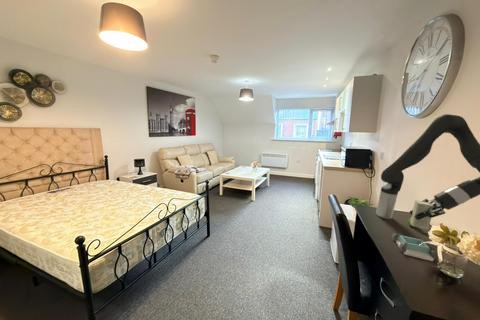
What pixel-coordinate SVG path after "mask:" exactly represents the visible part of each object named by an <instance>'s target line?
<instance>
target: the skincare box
mask: <svg viewBox="0 0 480 320" xmlns="http://www.w3.org/2000/svg"><path fill="white" fill-rule="evenodd" d="M422 201H423V200H416V199H415V200H414V204H413V207H412V210H413V212H412V216H411V215H410V218H411V220H410V223H411V225H412V226H411V225H410V226H411V227H413V226H415V227H414V228H420V229H424V230H429V228H430V225H431V221H432V218H430V217H424V218H422V219H420V220H417V219H416V218H415V217H414V216H415V215H417V214H419V213H421V212H422V213H423V212H424V211H425V210H427V208H429V207H432V208H433V207H434V206H433V205H431V203H428V202H422ZM432 208H431V209H430V210H431V211H432V210H433V209H432ZM428 212H429V211H428Z"/></svg>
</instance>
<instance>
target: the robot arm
mask: <svg viewBox="0 0 480 320" xmlns="http://www.w3.org/2000/svg"><path fill="white" fill-rule="evenodd" d="M443 134H450V135H452V137H454V138H455V139H456V141H457V142H458V145H459V150H460V154H461V155H462V156H463V158H464V160H466V162H467V163H468V164H469V166H471V167H472V168H474V169H476V170H477V171H478V172H479V173H480V142H479V141H478V140H477V138H476V137H475V135H474V133H473V132H472V130H471V128H470V127H469V124H468V123H467V121H466V119H465V118H464V117H463V116H460V115H456V114H450V113H446V114H441V115H439V116H438V117H436V118H435V119H434V120H433V121H432V122H431V123H430V124H429V126H428V127H427V128H426V129H425V130H424V131H423V133H422V134H421V135H420V136H419V137H418V138H417V139H416V140H415V141H414V142H413V143H412V144H411V145H410V146H408V148H407V149H406V150H405V151H404V152H403V153H402V154H401V155H400V156H398V158H397V159H396V160H395V161H393V163H392V164H390V165H389V166H387V167H386V168H385V169H383V171H382V173H381V174H380V179H381V181H382V182H383V183H387V184H385V185H383V186H381V187H380V188H381V189H380V193H379V197H378V200H377V201H378V202H377V207H376V209H375V210H376V211H375V215H376V216H377V217H380V218H382V219H386V220H391V219H392V218H393V213H394V210H395V207H396V202H397V198H398V194H399V192H401V189H402V186H403V182H404V177H405V176H404V172H403V171H404V170H406V169H408V168H411V167H413V166H415V165H417V164H418V163H420V162H422V161H423V160H424V159H425V158H426V157H427V156H428V155H429V154H430V152H431V150H432V149H433V148H432V147H433V144H434V143H435V141H436V140H437V139H438V138H439V137H441V136H442V135H443ZM478 196H480V176H478V177H476V178H474V179H472V180H470V179H469V180H465V181H463V182H461V183H459V184H457V185H454V186H451V187H449V188H447V189H444V190H443V191H441V192H439V193H437V194H434V196H433V198H434V199H431V200H429V199H428V198H425V199H423V200H421V201H422V202H428V203H431V205H433V206H434V207H433V208H432V207H429V208H427V210H425V211H424V212H423V213H422V212H421V213H419V214H417V215H415V216H414V217H415V218H416V219H417V220H420V219H422V218H424V217H430V218H431V219H432V218H435V217H439V216H442V215H445V214H446V211H445V210H453V209H454V208H456V207H457V206H460V205H462V204H465V203H466V202H468V201H470V200H472V199H474V198H476V197H478ZM431 208H432V209H433V210H432V211H431V210H430V209H431ZM428 211H429V212H428ZM412 212H413V209H412V210H410V211H409V214H410V216H411V215H412Z"/></svg>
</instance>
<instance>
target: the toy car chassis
mask: <svg viewBox="0 0 480 320" xmlns="http://www.w3.org/2000/svg"><path fill="white" fill-rule="evenodd" d="M391 240H392V241H393V242H395V243H396V245H397V247H398V249H399V251H400V253H403V254H404V255H405V256H410V257H414V258H419V259H422V260H425V261H431V262H434V261H436V260H437V259H438V257H437V256H438V255H437V252H436V251H435V250H431V249H430V247H429V246H428V245H427V243H426V241H425V239H419V238H415V237H410V236H406V235H402V234H397V233H392V235H391ZM423 242H425V243H423ZM421 243H423V244H422V245H420V246H419V244H421Z"/></svg>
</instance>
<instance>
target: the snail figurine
mask: <svg viewBox="0 0 480 320" xmlns="http://www.w3.org/2000/svg"><path fill="white" fill-rule="evenodd" d="M411 216H412V215H411V214H410V218H409V219H408V220H407V223H408V224H409V226H411V227H413V228H416V227H415V226H412V225H411V223H410V220H411Z"/></svg>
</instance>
